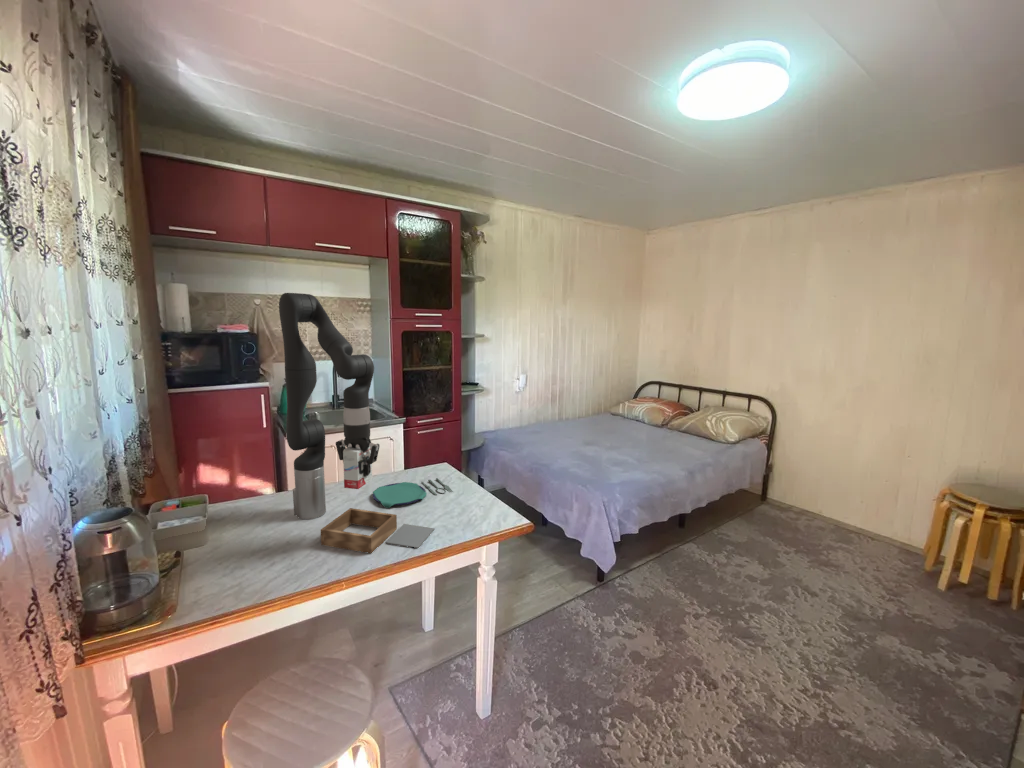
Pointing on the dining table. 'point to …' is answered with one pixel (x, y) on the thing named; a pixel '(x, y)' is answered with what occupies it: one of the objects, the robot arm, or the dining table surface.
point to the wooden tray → (353, 541)
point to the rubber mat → (410, 535)
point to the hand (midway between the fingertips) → (358, 474)
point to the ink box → (354, 469)
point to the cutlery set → (403, 493)
